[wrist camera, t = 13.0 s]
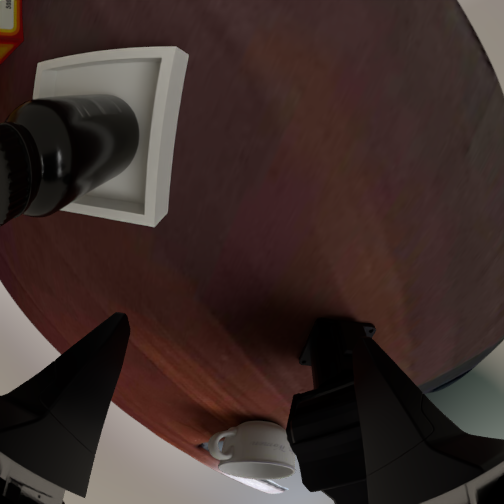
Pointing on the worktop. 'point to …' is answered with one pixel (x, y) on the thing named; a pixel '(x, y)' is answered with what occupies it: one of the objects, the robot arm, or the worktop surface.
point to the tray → (148, 116)
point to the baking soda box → (10, 27)
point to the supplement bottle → (62, 151)
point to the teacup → (254, 451)
